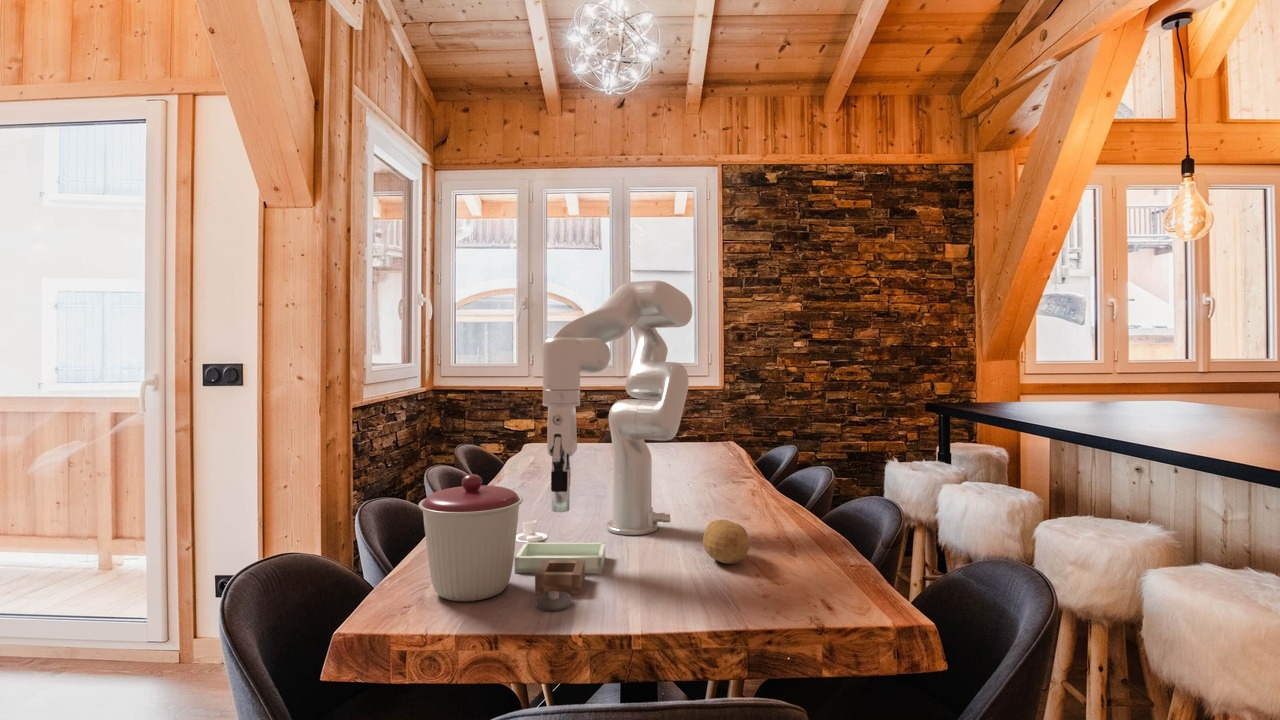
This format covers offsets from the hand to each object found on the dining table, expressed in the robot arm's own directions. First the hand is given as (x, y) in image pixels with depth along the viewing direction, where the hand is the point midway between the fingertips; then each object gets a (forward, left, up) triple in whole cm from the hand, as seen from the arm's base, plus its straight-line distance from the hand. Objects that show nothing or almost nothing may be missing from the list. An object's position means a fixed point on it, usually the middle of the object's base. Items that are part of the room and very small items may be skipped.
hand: (560, 488), depth 128 cm
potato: (-34, -3, -16) cm, 37 cm away
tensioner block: (-2, +16, -16) cm, 22 cm away
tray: (0, 0, -16) cm, 16 cm away
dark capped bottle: (0, 0, -4) cm, 4 cm away
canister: (+14, +14, -16) cm, 26 cm away
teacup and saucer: (+12, -17, -16) cm, 26 cm away
